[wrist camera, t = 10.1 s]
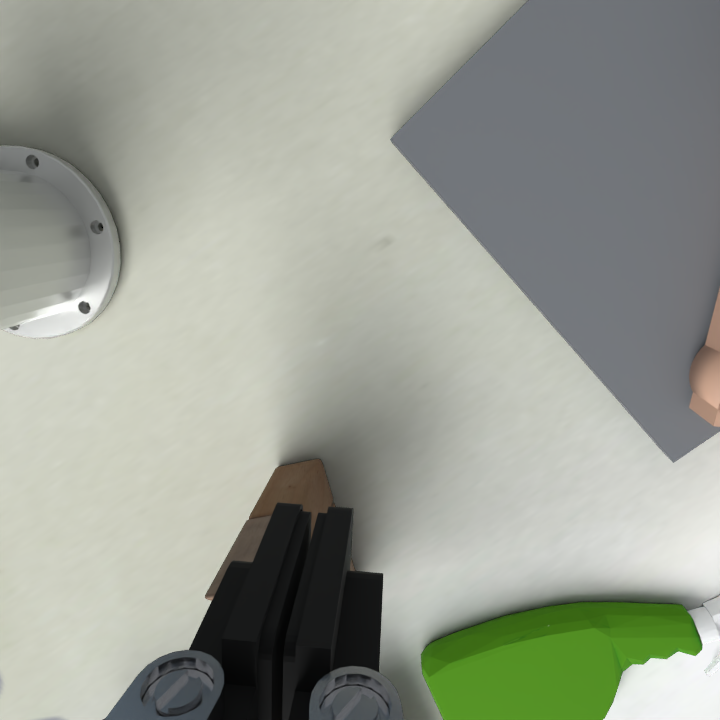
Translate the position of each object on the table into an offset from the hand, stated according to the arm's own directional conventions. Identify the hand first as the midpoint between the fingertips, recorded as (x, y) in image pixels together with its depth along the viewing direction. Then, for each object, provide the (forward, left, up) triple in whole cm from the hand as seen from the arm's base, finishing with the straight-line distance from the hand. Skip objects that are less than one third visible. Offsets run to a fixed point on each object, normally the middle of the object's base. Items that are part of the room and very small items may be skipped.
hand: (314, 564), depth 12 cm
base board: (+5, +18, -26) cm, 32 cm away
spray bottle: (+29, -6, -27) cm, 40 cm away
